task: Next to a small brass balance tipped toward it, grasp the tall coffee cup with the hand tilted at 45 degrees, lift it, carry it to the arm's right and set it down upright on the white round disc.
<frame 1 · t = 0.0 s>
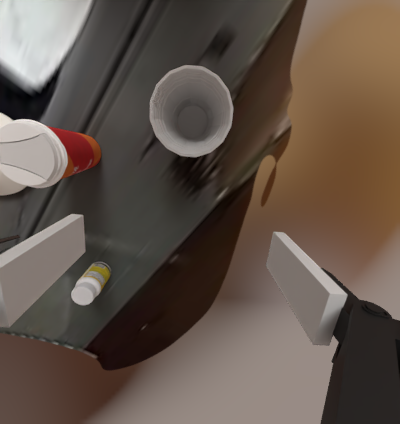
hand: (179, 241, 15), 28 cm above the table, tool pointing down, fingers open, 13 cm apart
supplement bottle: (101, 270, 47), on the table
plastic cup: (191, 122, 39), on the table
coffee cup: (85, 151, 40), on the table
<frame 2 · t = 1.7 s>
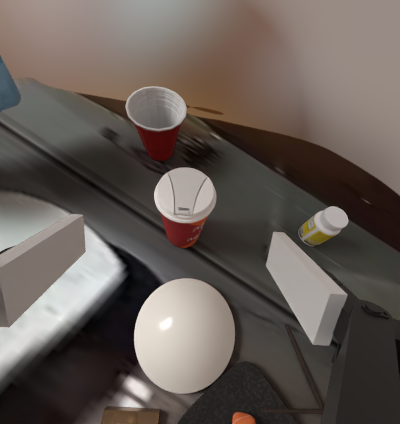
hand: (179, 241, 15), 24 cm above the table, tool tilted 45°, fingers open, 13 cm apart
supplement bottle: (308, 235, 43), on the table
white round disc: (185, 329, 33), on the table
plastic cup: (160, 152, 49), on the table
coffee cup: (183, 232, 41), on the table
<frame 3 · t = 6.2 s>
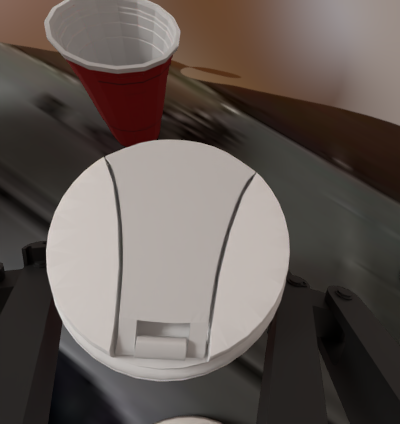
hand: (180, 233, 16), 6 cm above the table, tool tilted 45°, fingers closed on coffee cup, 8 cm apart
plastic cup: (138, 135, 28), on the table
coffee cup: (176, 290, 20), on the table, touching gripper
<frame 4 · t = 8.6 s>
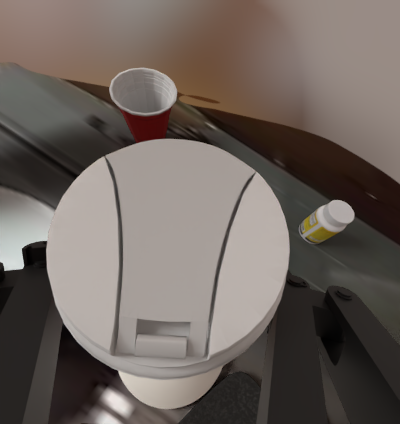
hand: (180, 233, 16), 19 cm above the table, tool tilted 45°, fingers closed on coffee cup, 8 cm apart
supplement bottle: (310, 232, 40), on the table
white round disc: (172, 335, 30), on the table
plastic cup: (151, 142, 46), on the table
coffee cup: (176, 290, 20), point 14 cm above the table, touching gripper
when the fingers open (8 cm above the table, at t = 11.4 s): coffee cup drops 1 cm, resting on white round disc.
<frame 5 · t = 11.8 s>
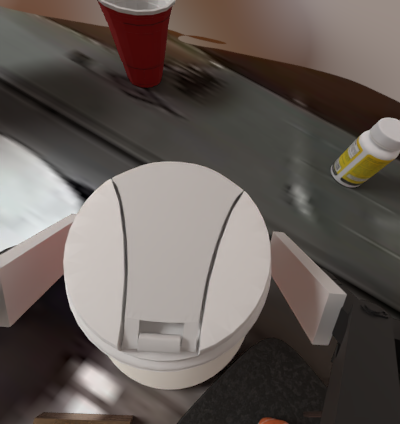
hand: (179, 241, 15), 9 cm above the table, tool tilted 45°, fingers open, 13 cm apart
supplement bottle: (344, 175, 32), on the table
white round disc: (176, 293, 22), on the table
plastic cup: (146, 79, 38), on the table
coffee cup: (176, 293, 21), point 1 cm above the table, touching white round disc
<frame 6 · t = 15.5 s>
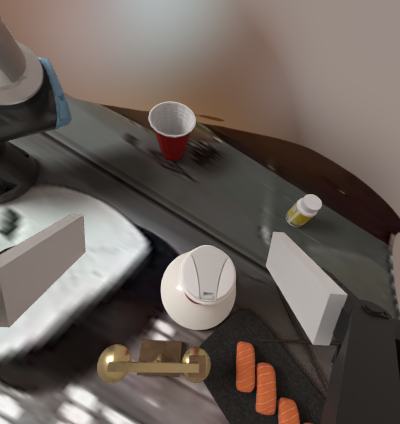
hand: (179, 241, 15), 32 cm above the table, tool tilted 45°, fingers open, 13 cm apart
supplement bottle: (294, 219, 54), on the table
balance: (160, 356, 38), on the table
sushi plate: (298, 368, 40), on the table
white round disc: (198, 288, 44), on the table
plastic cup: (173, 154, 60), on the table
coffee cup: (199, 287, 43), point 1 cm above the table, touching white round disc
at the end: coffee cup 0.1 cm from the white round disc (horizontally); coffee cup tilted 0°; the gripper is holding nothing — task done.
